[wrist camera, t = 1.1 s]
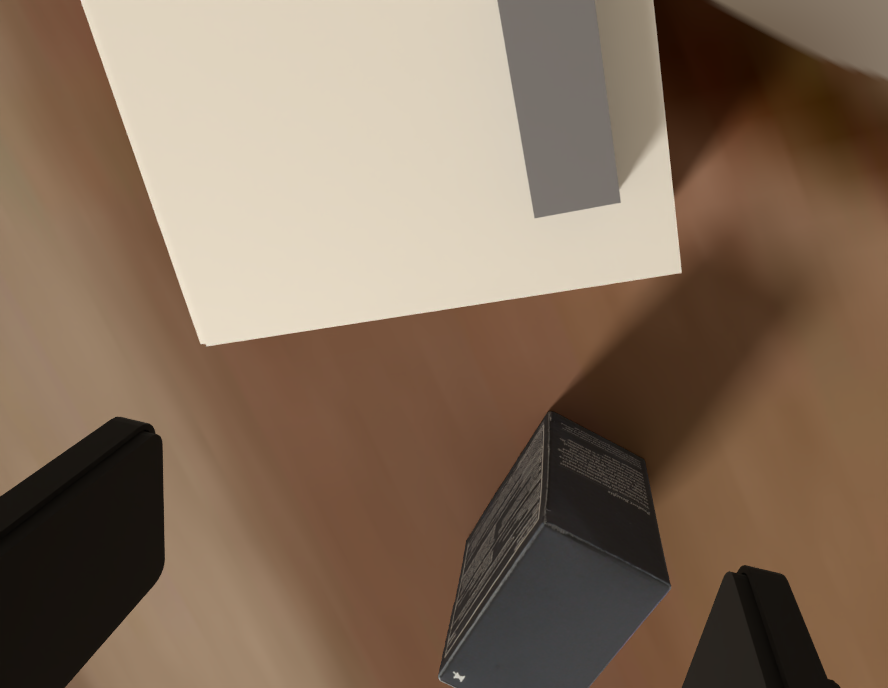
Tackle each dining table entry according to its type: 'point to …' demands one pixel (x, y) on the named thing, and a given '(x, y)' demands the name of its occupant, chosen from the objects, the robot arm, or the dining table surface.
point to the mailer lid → (392, 152)
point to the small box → (556, 566)
